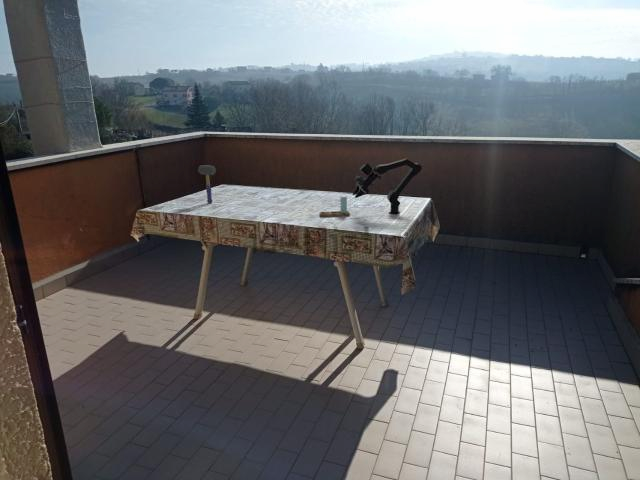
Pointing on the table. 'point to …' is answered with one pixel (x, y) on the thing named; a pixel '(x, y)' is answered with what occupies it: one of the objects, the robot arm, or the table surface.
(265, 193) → the table surface
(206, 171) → the rubber mallet
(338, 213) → the walnut rack
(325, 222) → the table surface
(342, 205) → the teal board
